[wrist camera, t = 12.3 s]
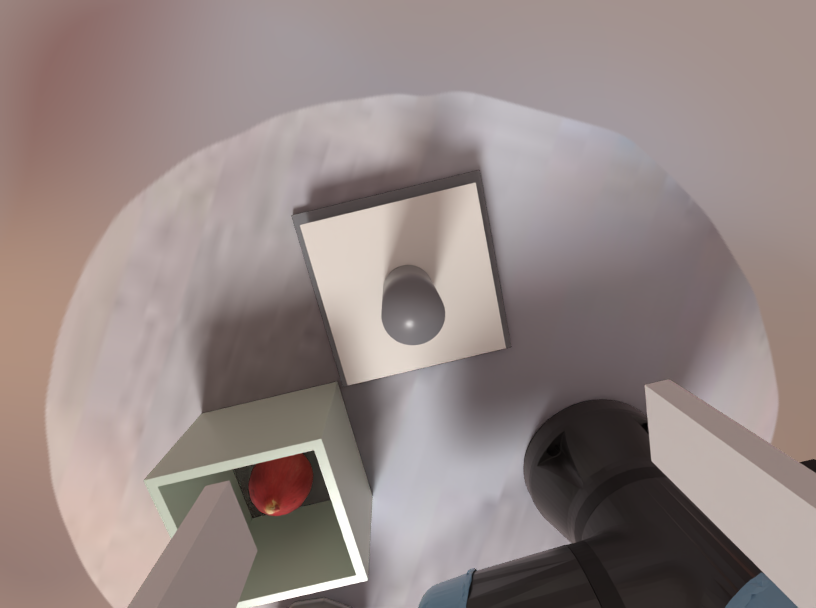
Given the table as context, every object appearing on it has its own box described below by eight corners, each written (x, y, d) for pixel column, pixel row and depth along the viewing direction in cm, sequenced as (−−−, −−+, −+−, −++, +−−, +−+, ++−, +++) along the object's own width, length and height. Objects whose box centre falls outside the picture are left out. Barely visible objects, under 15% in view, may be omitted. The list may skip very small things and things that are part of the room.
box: (337, 381, 41) (321, 438, 31) (372, 496, 44) (368, 580, 34) (201, 413, 41) (143, 480, 31) (247, 525, 44) (208, 617, 35)
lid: (470, 183, 36) (501, 177, 26) (499, 339, 40) (536, 387, 30) (305, 223, 36) (273, 233, 26) (350, 375, 40) (336, 433, 30)
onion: (298, 489, 44) (279, 552, 36) (251, 463, 42) (221, 521, 35) (329, 450, 43) (316, 506, 35) (281, 421, 41) (257, 473, 34)
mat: (478, 170, 36) (479, 169, 36) (509, 345, 40) (511, 347, 40) (292, 215, 36) (291, 215, 36) (343, 384, 41) (343, 387, 40)
